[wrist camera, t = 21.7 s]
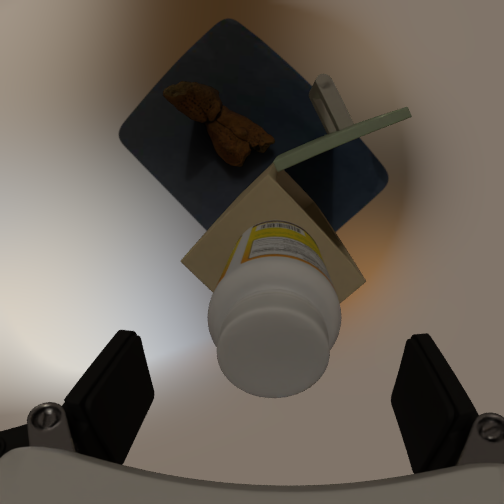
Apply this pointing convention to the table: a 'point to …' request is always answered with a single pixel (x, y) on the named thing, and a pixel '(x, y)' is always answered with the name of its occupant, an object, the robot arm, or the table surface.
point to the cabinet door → (334, 124)
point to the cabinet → (264, 209)
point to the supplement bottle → (274, 311)
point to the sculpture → (219, 121)
